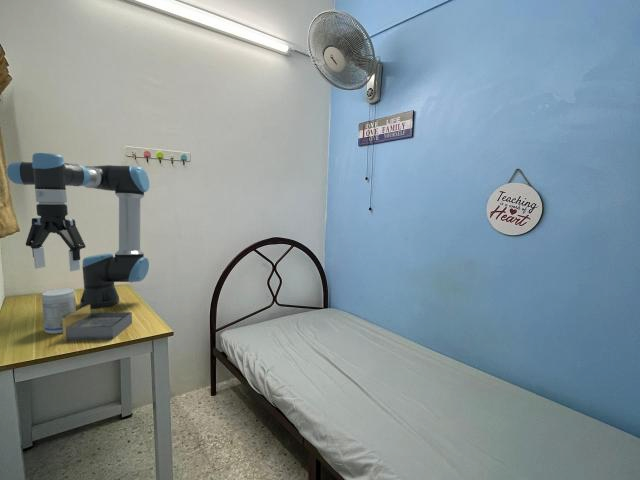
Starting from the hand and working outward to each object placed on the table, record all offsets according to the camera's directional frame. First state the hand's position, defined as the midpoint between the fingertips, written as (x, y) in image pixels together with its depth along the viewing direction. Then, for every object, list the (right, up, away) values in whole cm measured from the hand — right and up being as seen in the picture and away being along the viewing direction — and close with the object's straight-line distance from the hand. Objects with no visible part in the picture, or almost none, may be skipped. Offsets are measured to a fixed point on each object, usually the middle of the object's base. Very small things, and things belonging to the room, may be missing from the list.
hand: (57, 269), depth 103 cm
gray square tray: (+4, -25, +15) cm, 29 cm away
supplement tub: (-12, -24, +16) cm, 31 cm away
